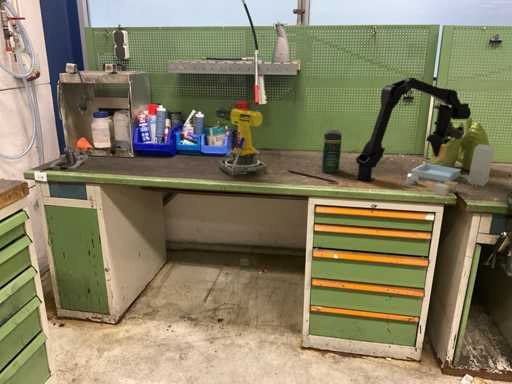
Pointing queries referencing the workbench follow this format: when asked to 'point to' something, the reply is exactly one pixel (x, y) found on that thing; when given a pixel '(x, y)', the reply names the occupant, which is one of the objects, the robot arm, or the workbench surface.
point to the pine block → (451, 186)
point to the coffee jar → (331, 151)
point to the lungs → (463, 146)
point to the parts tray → (436, 173)
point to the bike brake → (69, 160)
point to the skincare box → (481, 164)
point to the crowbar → (314, 177)
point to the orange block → (441, 153)
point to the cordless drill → (242, 141)
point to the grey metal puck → (412, 178)
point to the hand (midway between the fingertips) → (438, 155)
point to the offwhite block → (441, 189)
